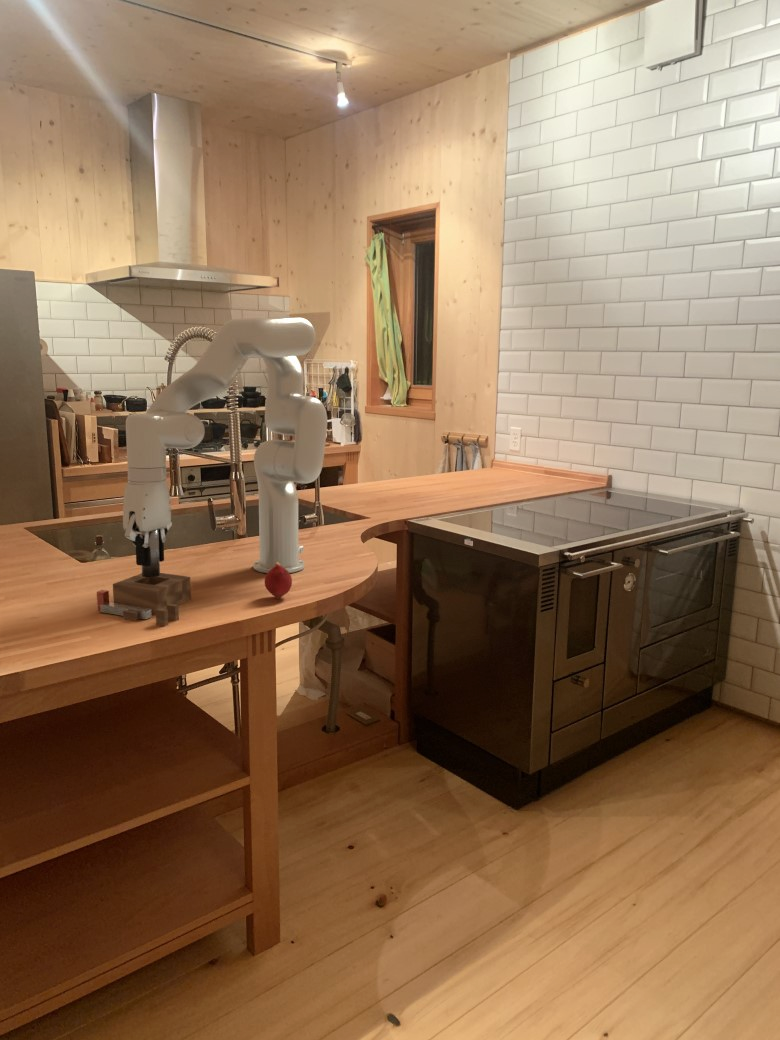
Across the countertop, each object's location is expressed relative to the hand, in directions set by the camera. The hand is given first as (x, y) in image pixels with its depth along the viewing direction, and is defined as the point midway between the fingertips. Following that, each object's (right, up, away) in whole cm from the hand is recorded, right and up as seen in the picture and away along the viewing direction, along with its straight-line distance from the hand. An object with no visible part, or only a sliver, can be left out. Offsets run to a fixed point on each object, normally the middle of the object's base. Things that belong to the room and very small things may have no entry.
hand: (150, 562), depth 159 cm
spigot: (0, -3, 0) cm, 3 cm away
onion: (+25, -8, +7) cm, 28 cm away
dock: (+2, -10, -1) cm, 10 cm away
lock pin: (-3, -10, -6) cm, 12 cm away
